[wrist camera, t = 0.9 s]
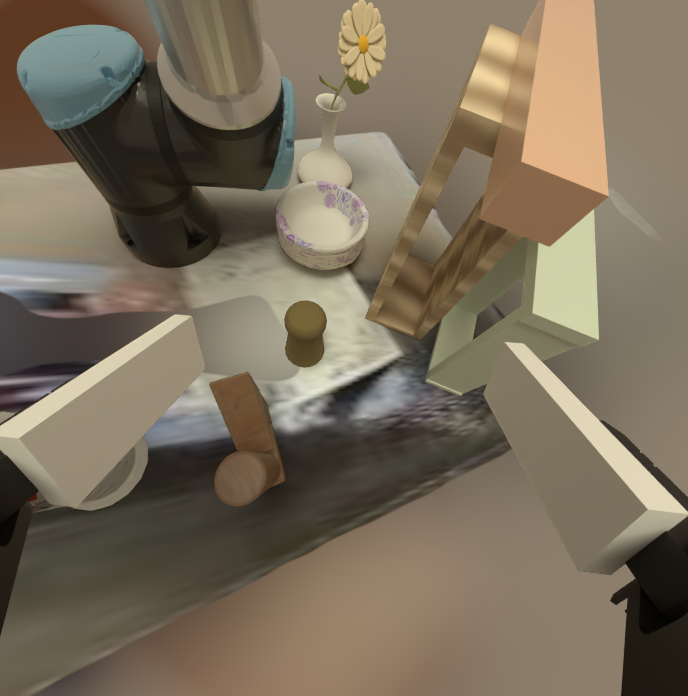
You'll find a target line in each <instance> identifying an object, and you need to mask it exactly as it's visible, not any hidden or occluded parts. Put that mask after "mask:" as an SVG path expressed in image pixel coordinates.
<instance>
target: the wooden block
mask: <svg viewBox="0 0 688 696" xmlns="http://www.w3.org/2000/svg"><path fill="white" fill-rule="evenodd" d="M210 388H211V390H212V392H213V395H214V397H215V399H216V402H217V404H218V406H219V409H220V411H221V414H222V416H223V418H224V421H225V423H226V425H227V428H228V430H229V432H230V435H231V437H232V440H233V442H234V444H235V447H236V449H237V451H238V452H235V453H233V454H231V455H229V456H227V457H226V458H225V459H224V460H223V461H222V462H221V464H220V465H219V467H218V469H217V470H216V474H215V478H214V488H215V491H216V494H217V496H218V497H219V498H220V500H221V501H222V502H223V503H225V504H227V505H229V506H236V507H240V506H244V505H247V504H249V503H251V502H252V501H254V500H256V499H257V498H258V497H259V496H260V495H261V494H263V493H264V492H265V491H266V490H267V489H268V488H271V487H273V486H276V485H278V484H281V483H283V482H284V481H285V480H286V474H285V470H284V466H283V463H282V459H281V455H280V451H279V448H278V444H277V440H276V436H275V433H274V429H273V427H272V421H271V418H270V414H269V410H268V406H267V403H266V401H265V400H264V398H263V396H262V395H261V393H260V391H259V389H258V387H257V385H256V384H255V382H254V381H253V379H252V377H251V376H250V374H249V373H248V372H246V373H243V374H239V375H235V376H232V377H228V378H225V379H221V380H218V381H214V382H211V383H210Z"/></svg>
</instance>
